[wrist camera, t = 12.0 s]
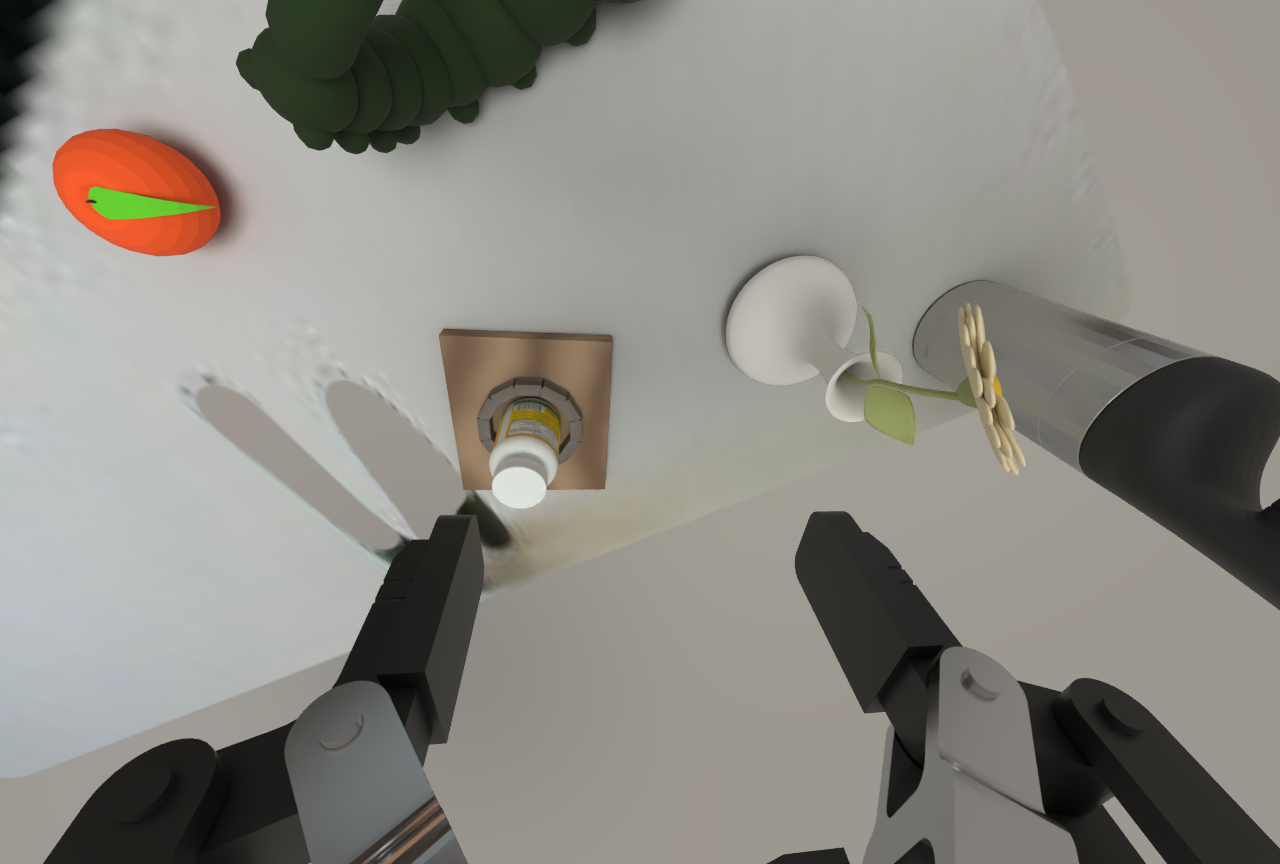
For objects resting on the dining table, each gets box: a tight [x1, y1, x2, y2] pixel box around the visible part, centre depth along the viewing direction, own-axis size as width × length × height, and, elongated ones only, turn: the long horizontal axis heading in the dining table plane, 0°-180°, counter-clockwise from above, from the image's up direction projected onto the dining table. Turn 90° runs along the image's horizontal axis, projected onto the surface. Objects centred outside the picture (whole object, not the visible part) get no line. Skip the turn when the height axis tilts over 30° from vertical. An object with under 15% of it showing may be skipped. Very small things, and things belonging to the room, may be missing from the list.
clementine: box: [53, 129, 221, 256], centre depth 28 cm, size 8×7×7 cm
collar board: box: [439, 329, 613, 490], centre depth 41 cm, size 14×16×3 cm
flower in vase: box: [726, 255, 1026, 475], centre depth 29 cm, size 13×11×25 cm
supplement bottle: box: [489, 398, 561, 508], centre depth 37 cm, size 5×5×10 cm
